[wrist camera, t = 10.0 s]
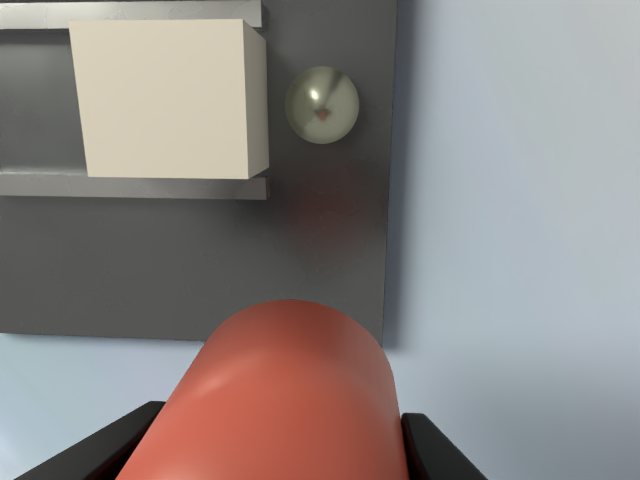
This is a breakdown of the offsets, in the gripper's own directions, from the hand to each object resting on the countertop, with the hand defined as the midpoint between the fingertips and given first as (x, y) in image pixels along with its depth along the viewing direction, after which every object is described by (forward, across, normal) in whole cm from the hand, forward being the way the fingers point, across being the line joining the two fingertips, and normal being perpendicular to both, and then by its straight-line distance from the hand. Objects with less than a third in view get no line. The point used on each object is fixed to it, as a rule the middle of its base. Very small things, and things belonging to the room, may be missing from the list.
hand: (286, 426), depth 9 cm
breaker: (+10, +4, -6) cm, 12 cm away
